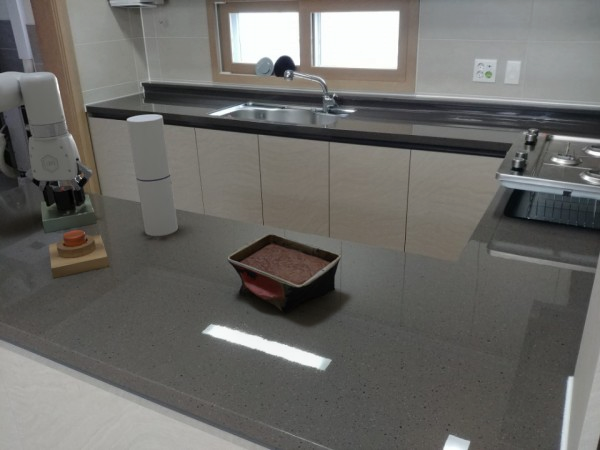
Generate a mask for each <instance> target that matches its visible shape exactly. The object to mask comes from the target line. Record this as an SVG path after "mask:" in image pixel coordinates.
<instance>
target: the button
mask: <svg viewBox="0 0 600 450" xmlns="http://www.w3.org/2000/svg"><path fill="white" fill-rule="evenodd" d="M85 235H86V232H85V231H84V230H81V229H80V230H79V229H76V230H71V231H68V232H65V233H64V234H63V235H62V239H63V240H64V244H65V246H66V247H75V246H80V245H82V244H85V243H86V237H85Z"/></svg>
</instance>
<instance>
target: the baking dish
mask: <svg viewBox="0 0 600 450" xmlns="http://www.w3.org/2000/svg"><path fill="white" fill-rule="evenodd" d="M341 258H342V255H341V253H339V252H336V251H332V250H328V249H325V248H322V247H318V246H316V245H313V244H310V243H307V242H304V241H303V242H302V241H300V240H296V239H292V238H290V237H285V236H282V235H280V234H276V233H266V234H264V235H261V236H258V237H257V238H254V239H253V240H251V241H249V242H247V243H246V244H244V245H242V246H241V247H239V248H237V249H235V250H233V251H232V252H231V253H230V254H228V256H227V257H226V259H227V262H228V263H229V264H230V265H231V266H232V267H233V269H234V270H235V271H236V273H237V274H238V276H239V278H240V280H241V286H240V289H239V291H238V295H239V296H240V295H242V294H243V293H244V292H245V291H247V290H248V291H249V292H250V293H252V294H253V295H254V296H256V297H258V298H261V299H262V300H264V301H266V302H267V303H269V304H271V305H273V306H275V307H276V308H277V309H279V311H281V313H283V314H284V315H286V314H287V313H289V312H290V311H291V310H293V309H294V308H295V307H297V306H298V305H299V304H300V303H302V302H303V301H304V300H309V299H314V298H319V297H323V296H326V295H328V294H329V293H331V292H333V291H334V290H336V288H335V284H336V283H335V282H336V281H335V280H336V274H337V270H338V266H339V263H340V261H341Z"/></svg>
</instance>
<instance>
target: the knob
mask: <svg viewBox="0 0 600 450" xmlns="http://www.w3.org/2000/svg"><path fill="white" fill-rule="evenodd" d="M73 191H74V186H73V185H60V186H56V187H53V195H54V199H55V203H56V208H57V209H59V210H65V209H70V208H73V207H75V206H76V202H75V197H74V193H73Z"/></svg>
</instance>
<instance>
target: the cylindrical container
mask: <svg viewBox="0 0 600 450" xmlns="http://www.w3.org/2000/svg"><path fill="white" fill-rule="evenodd" d="M126 124H127V130H128V136H129V142H130V148H131V154H132V160H133V167H134V173H135V179H136V184H137V185H136V186H137V190H138V197H139V202H140V209H141V216H142V221H143V226H144V233H145V234H146V235H147V236H151V237H161V236H168V235H170V234H173V233H176V232H177V231H178V229H179V226H178V218H177V211H176V204H175V198H174V190H173V189H174V188H173V183H172V182H173V181H172V175H171V167H170V160H169V152H168V146H167V145H168V144H167V139H166V131H165V125H164V117H163V115H161V114H156V113H155V114H154V113H153V114H140V115H134V116H130V117H128V118H126Z"/></svg>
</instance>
